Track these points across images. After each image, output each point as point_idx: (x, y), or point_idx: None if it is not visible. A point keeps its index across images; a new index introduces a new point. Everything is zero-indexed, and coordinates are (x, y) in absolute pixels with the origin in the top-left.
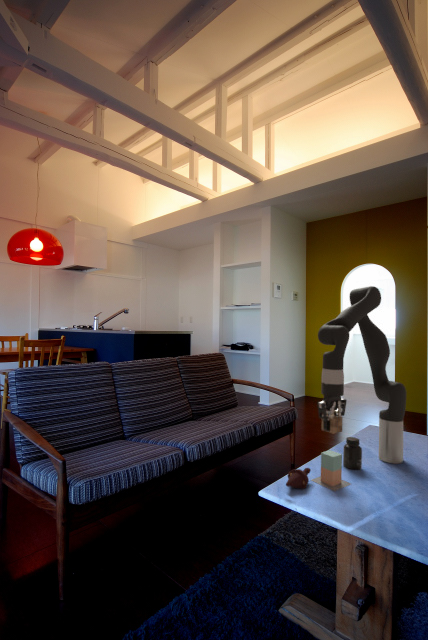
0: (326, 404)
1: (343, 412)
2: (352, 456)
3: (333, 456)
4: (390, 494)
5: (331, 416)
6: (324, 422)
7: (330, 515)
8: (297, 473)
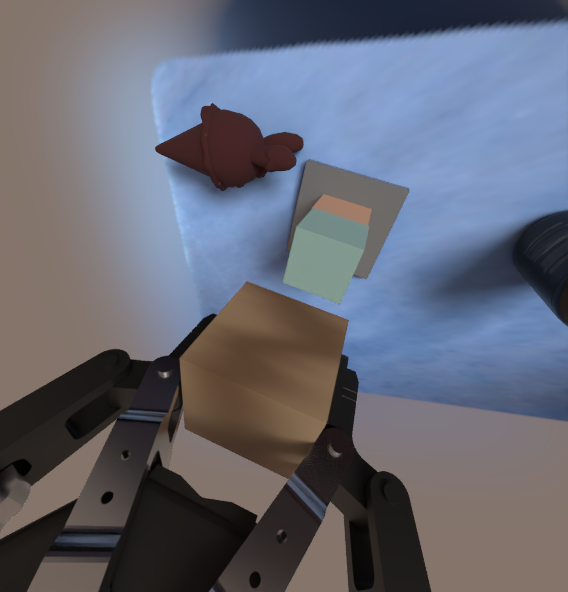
0: (44, 547)
1: (356, 536)
2: (539, 285)
3: (290, 281)
4: (380, 351)
5: (242, 423)
6: (180, 351)
7: (200, 265)
8: (202, 157)
